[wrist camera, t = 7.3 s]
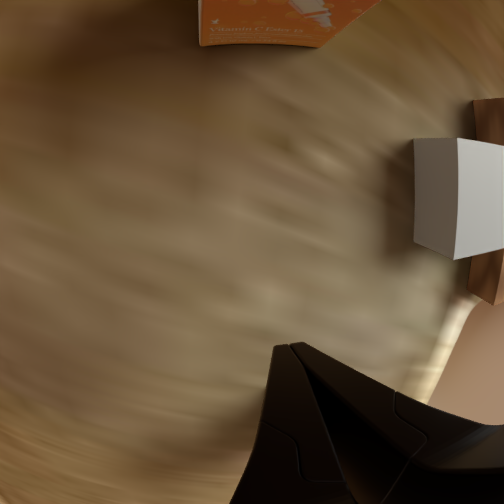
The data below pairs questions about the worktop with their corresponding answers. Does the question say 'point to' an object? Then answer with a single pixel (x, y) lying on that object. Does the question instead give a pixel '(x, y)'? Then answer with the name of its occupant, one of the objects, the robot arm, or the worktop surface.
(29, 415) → the worktop surface
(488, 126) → the board
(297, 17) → the small box
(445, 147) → the block
